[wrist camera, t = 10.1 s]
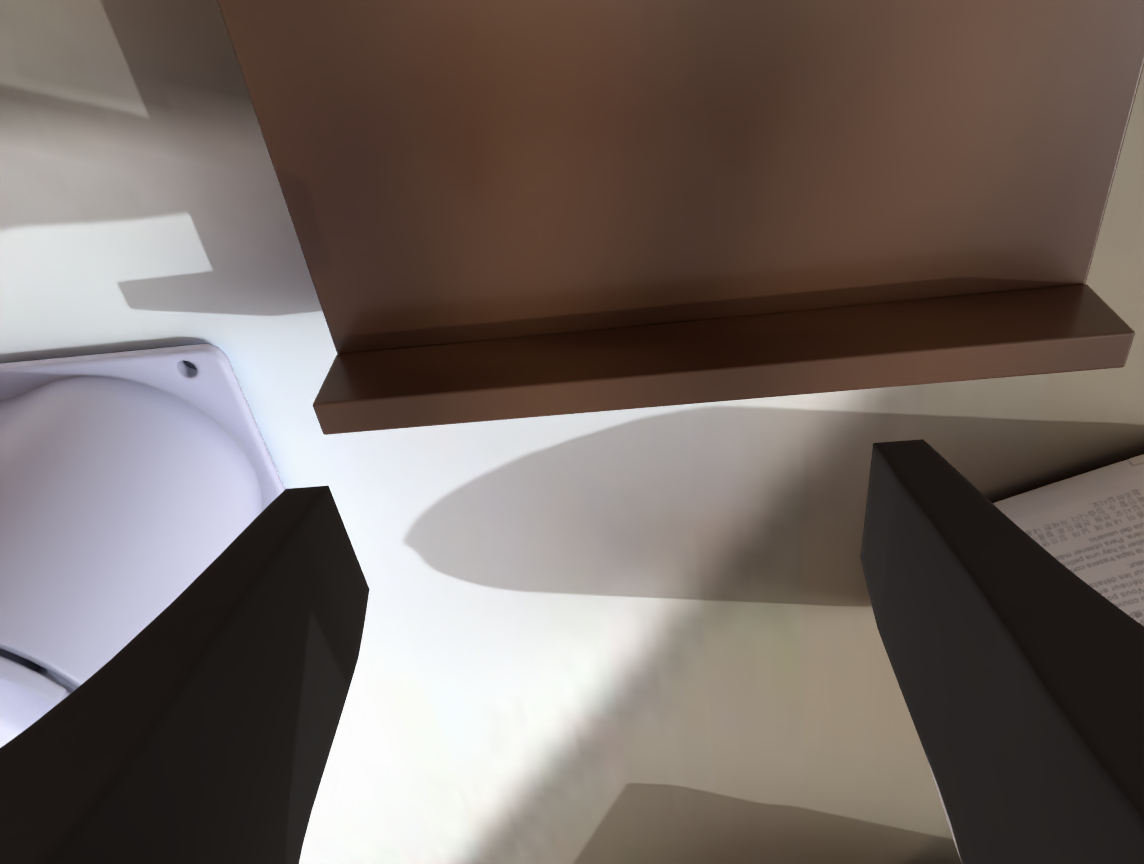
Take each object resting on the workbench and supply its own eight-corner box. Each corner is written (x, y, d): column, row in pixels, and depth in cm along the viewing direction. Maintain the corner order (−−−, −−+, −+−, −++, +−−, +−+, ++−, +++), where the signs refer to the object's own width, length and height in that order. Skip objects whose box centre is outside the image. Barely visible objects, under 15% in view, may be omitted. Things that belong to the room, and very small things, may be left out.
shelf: (373, 322, 21) (322, 435, 18) (249, -85, 16) (139, -50, 12) (1024, 259, 20) (1125, 367, 16) (1126, -216, 15) (1313, -222, 11)
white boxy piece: (887, 623, 28) (1044, 1076, 18) (844, 540, 26) (998, 1005, 16) (1234, 516, 25) (1661, 997, 15) (1220, 411, 22) (1712, 894, 12)
